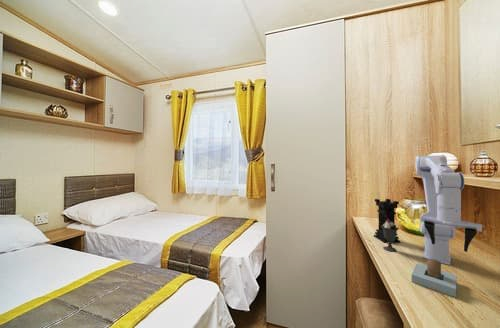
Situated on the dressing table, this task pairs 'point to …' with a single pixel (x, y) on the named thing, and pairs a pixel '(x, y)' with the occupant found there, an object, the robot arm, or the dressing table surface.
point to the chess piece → (389, 211)
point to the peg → (434, 268)
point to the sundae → (389, 234)
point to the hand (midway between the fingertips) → (448, 246)
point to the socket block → (435, 280)
